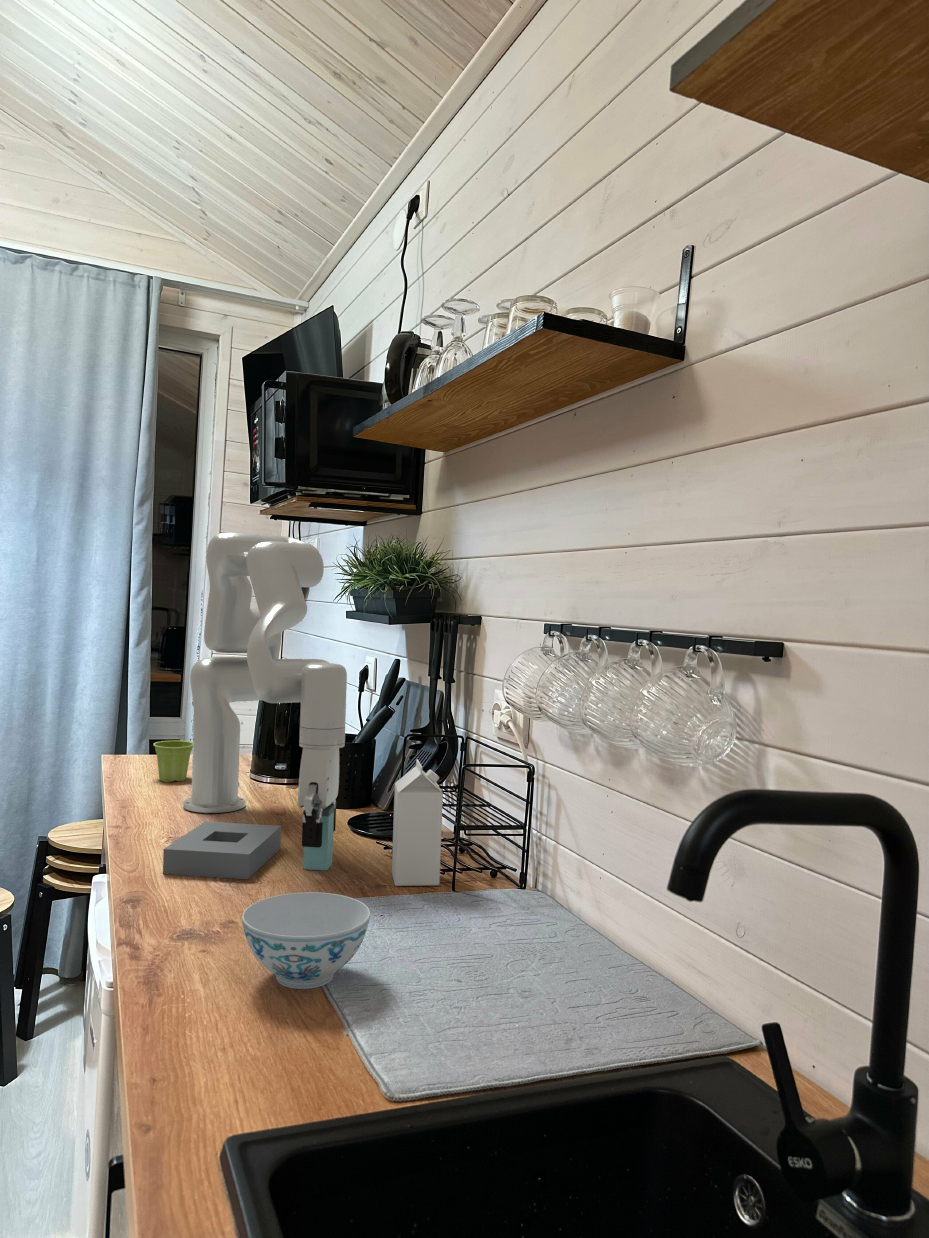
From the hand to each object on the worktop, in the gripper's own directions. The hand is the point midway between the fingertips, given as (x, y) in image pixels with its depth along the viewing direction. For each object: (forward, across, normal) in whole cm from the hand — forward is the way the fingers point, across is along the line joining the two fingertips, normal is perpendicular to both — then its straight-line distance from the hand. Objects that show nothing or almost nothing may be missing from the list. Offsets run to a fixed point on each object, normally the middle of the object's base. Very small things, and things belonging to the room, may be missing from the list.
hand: (319, 838), depth 150 cm
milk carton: (+5, +4, +17) cm, 18 cm away
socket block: (+5, 0, -16) cm, 17 cm away
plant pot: (+4, -60, -50) cm, 78 cm away
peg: (+5, 0, 0) cm, 5 cm away
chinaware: (+5, +43, +9) cm, 44 cm away
